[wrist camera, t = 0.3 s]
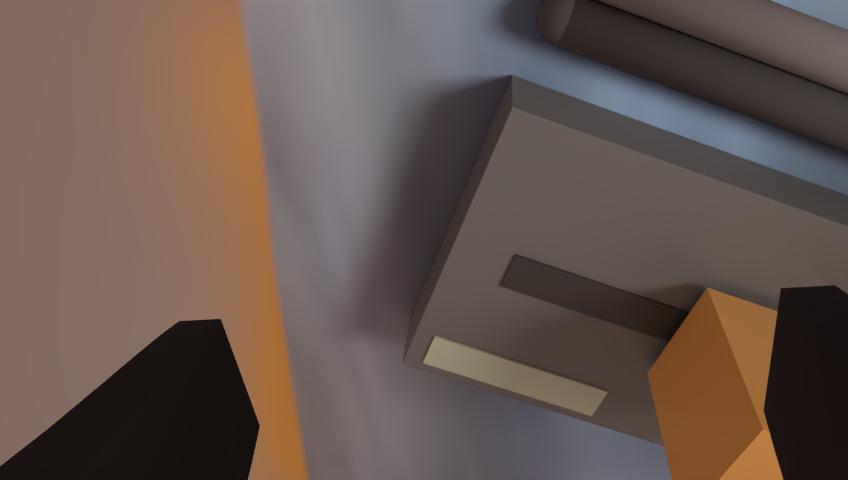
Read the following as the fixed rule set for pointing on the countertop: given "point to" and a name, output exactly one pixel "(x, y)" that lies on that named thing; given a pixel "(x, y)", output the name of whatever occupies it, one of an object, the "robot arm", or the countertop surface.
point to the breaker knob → (717, 392)
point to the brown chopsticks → (719, 55)
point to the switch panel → (606, 255)
